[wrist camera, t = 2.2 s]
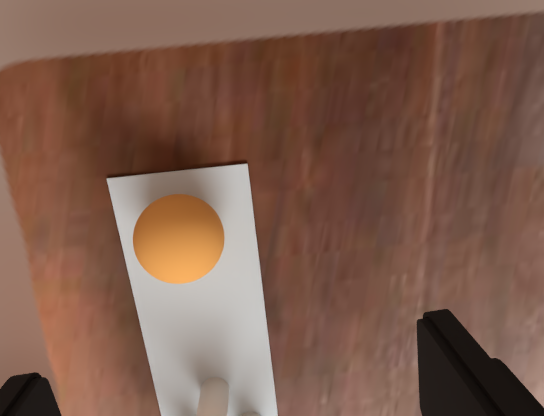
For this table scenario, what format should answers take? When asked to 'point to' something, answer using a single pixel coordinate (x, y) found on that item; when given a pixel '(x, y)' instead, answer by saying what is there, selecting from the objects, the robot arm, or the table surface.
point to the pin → (250, 414)
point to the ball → (178, 238)
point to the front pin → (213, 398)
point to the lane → (202, 297)
